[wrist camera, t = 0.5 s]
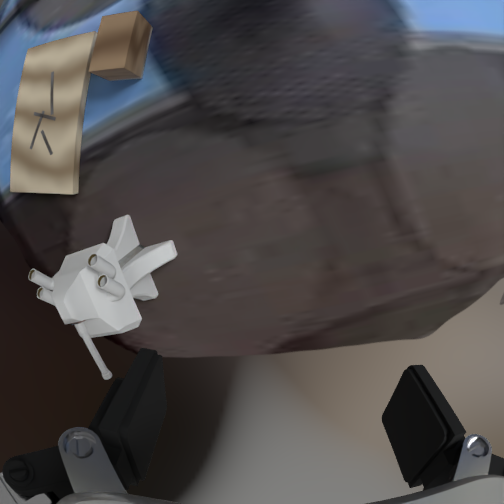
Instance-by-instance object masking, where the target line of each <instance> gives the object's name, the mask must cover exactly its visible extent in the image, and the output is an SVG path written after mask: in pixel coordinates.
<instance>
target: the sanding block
mask: <svg viewBox="0 0 504 504" xmlns="http://www.w3.org/2000/svg"><path fill="white" fill-rule="evenodd" d="M152 29H153V27H152V26H151V25H150V24H149V23H148V22H147V21H146V19H145V18H144V17H143V16H142V15H141V14H140V13H139V12H138V11H132V12H125V13H119V14H113V15H108V16H102V19H101V23H100V26H99V30H98V34H97V37H96V41H95V45H94V50H93V54H92V58H91V63H90V68H89V72H90V73H93V74H95V75H97V76H100V77H102V78H104V79H106V80H108V81H116V80H130V79H142V77H143V72H144V66H145V61H146V56H147V51H148V46H149V42H150V37H151V33H152Z"/></svg>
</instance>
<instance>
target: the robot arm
mask: <svg viewBox="0 0 504 504" xmlns="http://www.w3.org/2000/svg"><path fill="white" fill-rule="evenodd" d="M166 408H167V403H166V394H165V384H164V373H163V362H162V356H161V355H158V354H157V351H156V350H151V349H145V348H141V349H140V351H139V352H138V354H137V356H136V358H135V360H134V361H133V363H132V365H131V367H130V369H129V370H128V372H127V374H126V376H125V378H124V379H123V378H117V379H116V380H115V381H114V382H113V384H112V386H111V388H110V390H109V391H108V393H107V395H106V397H105V399H104V400H103V402H102V404H101V406H100V407H99V409H98V411H97V413H96V415H95V417H94V419H93V420H92V422H91V424H90V426H89V428H88V429H87V428H81V427H77V428H72V429H69V430H67V431H66V432H64V433H63V434H62V435H61V437H60V439H59V442H58V445H59V446H55V447H52V448H48V449H44V450H40V451H36V452H32V453H27V454H23V455H19V456H15V457H12V458H10V459H9V460H8V461H6V463H5V464H4V466H3V471H2V473H0V504H181V503H175V502H170V501H165V500H158V499H153V498H147V497H142V496H137V495H131V494H127V493H126V491H125V490H128V488H129V486H130V484H131V485H135V486H138V483H139V480H144V479H145V477H146V474H147V470H148V467H149V464H150V461H151V457H152V454H153V451H154V448H155V444H156V441H157V438H158V435H159V432H160V429H161V426H162V423H163V420H164V416H165V413H166ZM382 423H383V425H384V427H385V430H386V433H387V435H388V438H389V440H390V443H391V446H392V448H393V451H394V453H395V456H396V459H397V462H398V464H399V467H400V470H401V473H402V475H403V478H404V480H405V482H408V484H409V487H410V488H412V487H416V486H420V485H421V484H423V486H424V488H423V491H420V492H416V493H413V494H409V495H405V496H401V497H396V498H392V499H388V500H383V501H377V502H372V503H366V504H504V458H501V457H499V456H496V455H494V454H491V453H492V447H491V444H490V442H489V441H488V440H487V439H486V438H485V437H483V436H481V435H477V434H472V435H469V436H468V437H466V438H465V437H464V434H465V433H466V431H465V429H464V428H463V426H462V424H461V423H460V421H459V419H458V418H457V416H456V414H455V413H454V411H453V410H452V408H451V406H450V405H449V403H448V402H447V400H446V399H445V397H444V395H443V394H442V392H441V391H440V389H439V388H438V386H437V385H436V383H435V382H434V380H433V379H432V377H431V376H430V374H429V373H428V371H427V370H426V368H425V367H424V366H423V365H411V366H409V367H408V368H407V369H406V370H404V372H403V374H402V376H401V378H400V381H399V383H398V385H397V387H396V389H395V391H394V393H393V395H392V397H391V399H390V401H389V403H388V405H387V407H386V409H385V411H384V413H383V415H382Z"/></svg>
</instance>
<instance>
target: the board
mask: <svg viewBox="0 0 504 504" xmlns="http://www.w3.org/2000/svg"><path fill="white" fill-rule="evenodd" d="M97 34H98V33H97V32H95V31H94V32H89V33H84V34H80V35H75V36H71V37H67V38H63V39H59V40H56V41H52V42H49V43H45V44H42V45H39V46H36V47H33V48H30V49H28V51H27V55H26V59H25V63H24V67H23V71H22V76H21V81H20V86H19V92H18V98H17V104H16V111H15V118H14V127H13V137H12V150H11V174H10V192H27V193H52V194H72V195H73V194H77V193H78V188H79V164H80V150H81V138H82V128H83V120H84V112H85V105H86V98H87V92H88V86H89V81H90V75H91V73H90V72H89V68H90V63H91V58H92V54H93V50H94V45H95V41H96V37H97Z"/></svg>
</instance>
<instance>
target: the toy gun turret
mask: <svg viewBox="0 0 504 504" xmlns="http://www.w3.org/2000/svg"><path fill="white" fill-rule="evenodd" d="M176 256H177V252H176V249H175V246H174V243H173V241H172V240H169V241H166V242H162V243H159V244H155V245H152V246H149V247H144V246H142V245H140V244H139V241H138V238H137V235H136V233H135V230H134V227H133V224H132V221H131V218H130V216H129V215H126V216H123V217H120V218H117V219H115V220H114V222H113V226H112V231H111V235H110V238H109V240H108V243H107V244H105V243H101V244H99V245H96V246H93V247H90V248H87V249H84V250H81V251H78V252H75V253H73V254H70V255H67V256H66V257H65V259H64V261H63V263H62V266H61V268H60V270H59V271H58V272H57V273H56V274H55V275H54V276H53V278H50V277H48V276H46V275H44V274H42V273H41V272H39V271H37V270H35V269H32V270H31V271H30V272H29V280H30V281H32V282H34V283H36V284H38V285H40V286H42V287H40V288H39V289H38V291H37V297H38V298H39V299H41V300H43V301H46V302H48V303H50V304H52V305H55V306H56V308H57V310H58V312H59V314H60V316H61V318H62V320H63V322H64V323H65V324H69V323H70V324H71V325H75V327H76V329H77V331H78V333H79V335H80V337H83V339H84V342H85V343H86V345H87V347H88V349H89V351H90V353H91V355H92V356H93V358H94V360H95V362H96V363H97V365H98V367H99V369H100V370H101V372H102V376H103V378H104V379H105V380H107V379H110V378H111V377H112V373H111V372H110V371H109V370H108V369H107V367H106V365H105V364H104V362H103V360H102V358H101V357H100V355H99V353H98V351H97V349H96V347H95V346H94V343H93V342H92V340H91V338H92V337H100V336H106V335H113V334H119V333H124V332H126V331H129V330H131V329H134V328H136V327H139V324H140V322H141V320H142V318H141V315H140V313H139V311H138V309H137V306H136V304H135V302H134V299H133V298H136V299H140V300H143V301H145V300H150V299H154V298H156V297H157V296H158V292H157V289H156V287H155V284H154V282H153V279H152V277H151V274H150V272H152V271H153V270H155V269H157V268H158V267H160V266H162V265H163V264H165V263H167V262H169V261H171V260H173V259H174V258H175V257H176ZM48 289H49V290H48ZM50 290H53V292H52V291H50Z"/></svg>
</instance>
